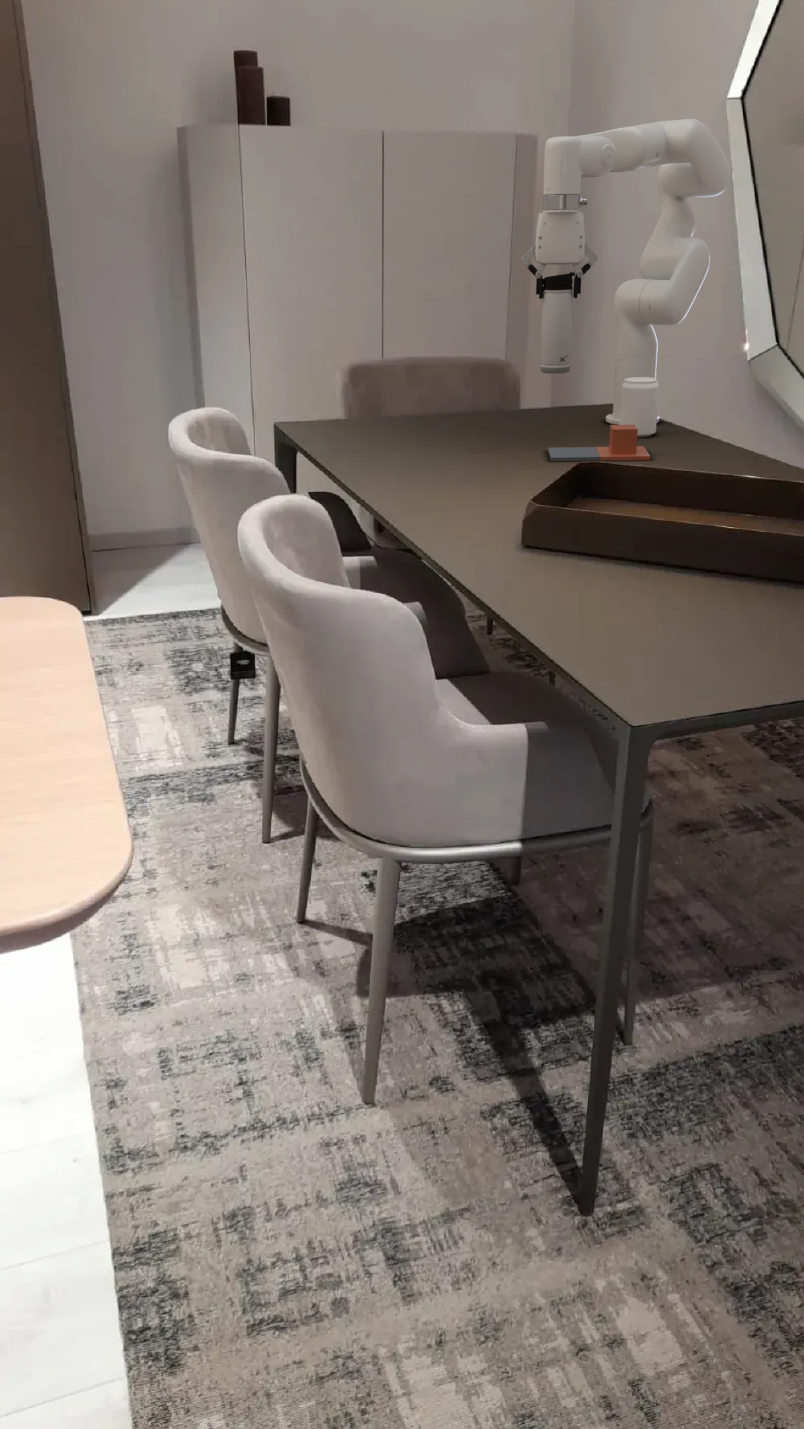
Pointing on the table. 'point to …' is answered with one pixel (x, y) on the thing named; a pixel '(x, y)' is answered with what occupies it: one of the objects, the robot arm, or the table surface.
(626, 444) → the terracotta block
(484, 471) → the table surface
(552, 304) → the travel mug
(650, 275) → the robot arm
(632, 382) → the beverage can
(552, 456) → the sorting board
